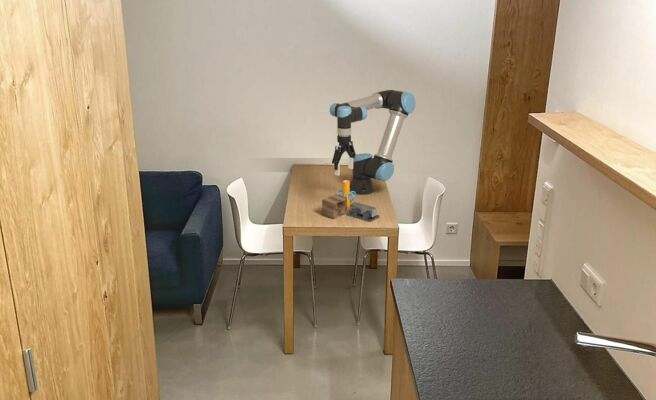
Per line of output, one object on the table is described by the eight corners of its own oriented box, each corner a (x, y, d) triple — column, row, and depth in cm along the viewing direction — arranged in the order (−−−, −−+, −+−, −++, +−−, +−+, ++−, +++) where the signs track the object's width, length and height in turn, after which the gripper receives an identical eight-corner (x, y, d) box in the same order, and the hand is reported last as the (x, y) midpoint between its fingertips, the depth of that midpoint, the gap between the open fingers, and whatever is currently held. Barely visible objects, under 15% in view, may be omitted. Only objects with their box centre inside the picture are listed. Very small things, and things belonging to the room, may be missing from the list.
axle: (354, 208, 343) (354, 201, 342) (376, 215, 334) (377, 207, 333) (349, 210, 340) (350, 203, 339) (372, 217, 331) (372, 210, 330)
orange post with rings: (353, 210, 346) (353, 185, 341) (334, 208, 348) (335, 183, 343) (356, 203, 358) (357, 178, 353) (338, 201, 360) (339, 177, 355)
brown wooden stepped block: (335, 209, 347) (335, 194, 343) (346, 213, 342) (347, 197, 339) (322, 215, 338) (322, 199, 335) (333, 219, 333) (333, 203, 330)
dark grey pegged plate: (355, 210, 346) (356, 203, 344) (379, 217, 337) (379, 210, 335) (346, 215, 339) (346, 207, 338) (369, 222, 330) (370, 214, 328)
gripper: (350, 129, 346) (350, 165, 354) (325, 138, 328) (325, 176, 335) (362, 131, 342) (361, 167, 350) (336, 141, 323) (336, 179, 331)
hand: (344, 171), depth 343 cm, fingers open, 13 cm apart
